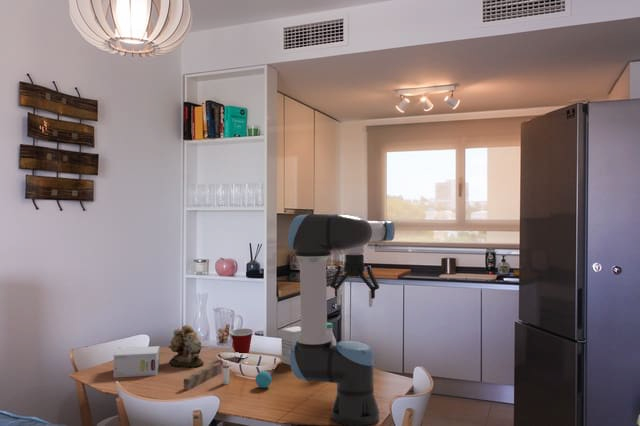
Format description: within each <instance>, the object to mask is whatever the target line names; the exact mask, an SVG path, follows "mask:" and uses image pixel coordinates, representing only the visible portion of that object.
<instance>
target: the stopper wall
mask: <svg viewBox="0 0 640 426" xmlns="http://www.w3.org/2000/svg"><path fill="white" fill-rule="evenodd" d="M221 373H222V362H216V363H214V364H211V365H209V366H208V367H205V368H203V369H201V370H199V371H197V372H195V373H193V374H191V375H189V376H187V377H185V378H183V390H184V391H189V390H192V389H194V388H195V387H198V386H199V385H202V384H204V383H205V382H207V381H209V380H211V379H212V378H214V377H216V376H218V375H219V374H221Z"/></svg>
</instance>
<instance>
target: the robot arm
mask: <svg viewBox="0 0 640 426" xmlns="http://www.w3.org/2000/svg"><path fill="white" fill-rule="evenodd" d="M395 230H396V229H395V223H394V222H393V221H389V220H388V221H387V220H384V221H383V220H382V221H381V220H380V221H379V220H377V221H376V220H366V219H364V217H363V216H352V215H346V214H338V213H337V214H336V213H335V214H330V213H329V214H323V213H321V214H320V213H319V214H314V213H313V214H310V213H308V214H299V215H297V216H295V217H294V218H293V220H292V222H291V223H290V225H289V230H288V234H287V235H288V237H287V239H288V241H287V242H288V244H289V245H288V246H289V248H290V250H292V251H295V252H294V254H295V255H294V256H295V258H296V259H297V260H299V274H300V275H299V281H300V282H299V289H300V295H299V296H300V298H299V299H300V327H301V335H300V336H299V337H298V338H297V339H296V343H294V344H293V346H292V348H291V353H290V365H289V366H290V369H291V371H292V374H293V375H294V377H295V378H297V379H299V380H303V381H308V382H319V383H321V382H323V383H333V384H336V395H335V398H334V401H333V405H332V407H331V419H332V421H334V422H335V423H338V424H340V425H344V426H369V425H373V424H375V423H377V422H378V421H379V420H380V408H379V406H378V402H377V400H376V396H375V393H374V391H375V390H374V386H375V385H374V383H375V382H374V381H375V380H374V379H375V378H374V375H375V374H374V370H375V369H374V368H375V367H374V365H375V360H374V352H373V349H372V347H370V346H369V345H368V344H366V343H363V342H359V341H356V340H355V341H354V340H340V341H338V342H336V346H334V345H332V338H331V337H330V336H329V335H328V334H327V323H328V314H327V313H328V312H327V311H328V305H327V303H328V302H327V301H328V300H327V299H328V298H327V297H328V296H327V287H328V286H327V260H328V259H329V258H330V257H331V256H332V255H331V253H332V251H345V252H344V253H345V257H344V258H345V261H344V262H345V265H342V264H339V265H338V266H337V269H336V270H337V271H336V273H335V275H334V277H333V280H332V281H331V284H330V288H331V289H334V297H335V298H336V306H340V305H342V294H341V293H342V289H341V288H340V287H341V286H342V285H343V284H344V283H345V281H346V280H347V279H348V277H355V278H358V277H359V278H361V279H362V281H363V282H364V284H365V285H366V286H367V287H368V288H369V291H368V307H369V308H371V307H373V300H374V299H375V298H376V290H378V289H380V285H379V283H378V281H377V278H376V277H375V275H374V273H373V267H372V266H371V265H368V266H365V263H364V260H365V258H364V257H365V256H364V248H365V246H366V245H367V244H368V243H372V242H391V241H393V240H394V239H395V233H396V231H395ZM343 271H345V274H344V275H343V276H342V277H341V279H340V280H339V278H340V276H341V274H342V272H343ZM364 271H365V272H366V273H367V274H368V277H369V278H370V280H371V281H370V280H369V279H368V277H367V276H366V275H365V273H364ZM338 280H339V281H338Z"/></svg>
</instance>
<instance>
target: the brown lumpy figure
mask: <svg viewBox="0 0 640 426" xmlns="http://www.w3.org/2000/svg"><path fill="white" fill-rule="evenodd" d="M197 335H198V333H197V332H196V331H195V330H194V328H193V326H191V325H189V324H185V325H183V326H182V328H179V327H178V328H175V329H174V330H173V337H172V339H171V341H170V345H168V349H171V352H173V353H177V354H176V355H174V356H173V357H172V358H171V359H170V360H169V363H168V364H169V365H170V366H172V367H174V368H178V369H179V368H180V369H193V368H201V367H202V366H204V363H205V362H204V360H202V359H201V358H199V357H200V353H201V350H202V341H201V340H200V339H199V337H198V336H197Z"/></svg>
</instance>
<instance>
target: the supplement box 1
mask: <svg viewBox="0 0 640 426" xmlns="http://www.w3.org/2000/svg"><path fill="white" fill-rule="evenodd" d="M159 369H160V345H157V346H134V347H133V346H132V347H131V346H130V347H118V348H117V349H116V351H115V352H114V354H113V378H125V377H127V378H128V377H145V376H157V375H158V372H159Z"/></svg>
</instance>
